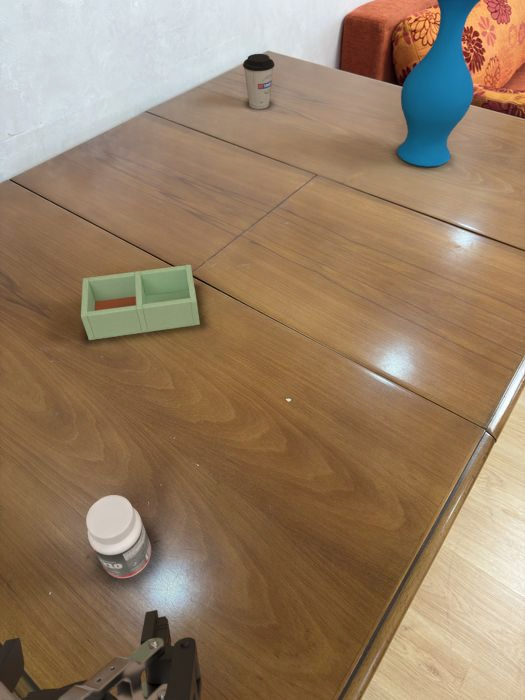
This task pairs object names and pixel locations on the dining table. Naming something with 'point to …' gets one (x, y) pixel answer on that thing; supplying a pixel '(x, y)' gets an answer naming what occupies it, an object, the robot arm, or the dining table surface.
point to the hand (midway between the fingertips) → (86, 638)
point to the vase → (437, 90)
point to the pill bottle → (118, 536)
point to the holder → (139, 302)
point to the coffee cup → (258, 79)
